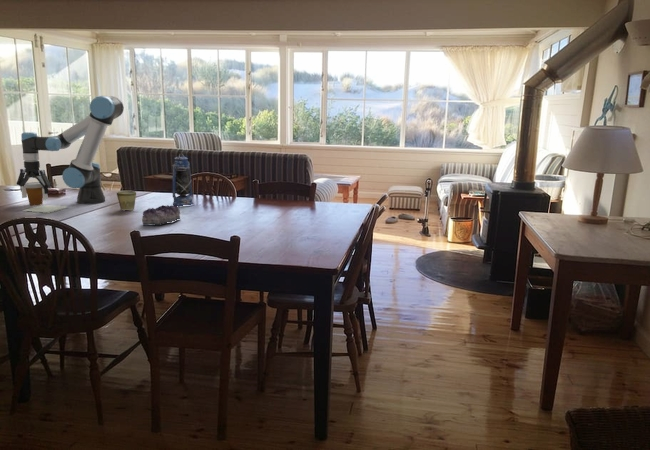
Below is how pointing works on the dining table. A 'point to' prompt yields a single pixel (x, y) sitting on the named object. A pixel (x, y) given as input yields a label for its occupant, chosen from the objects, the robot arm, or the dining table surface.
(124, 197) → the yellow green plant pot
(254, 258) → the dining table surface
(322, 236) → the dining table surface
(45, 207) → the sage placemat
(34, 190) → the disposable coffee cup
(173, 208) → the geode
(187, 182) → the lantern
